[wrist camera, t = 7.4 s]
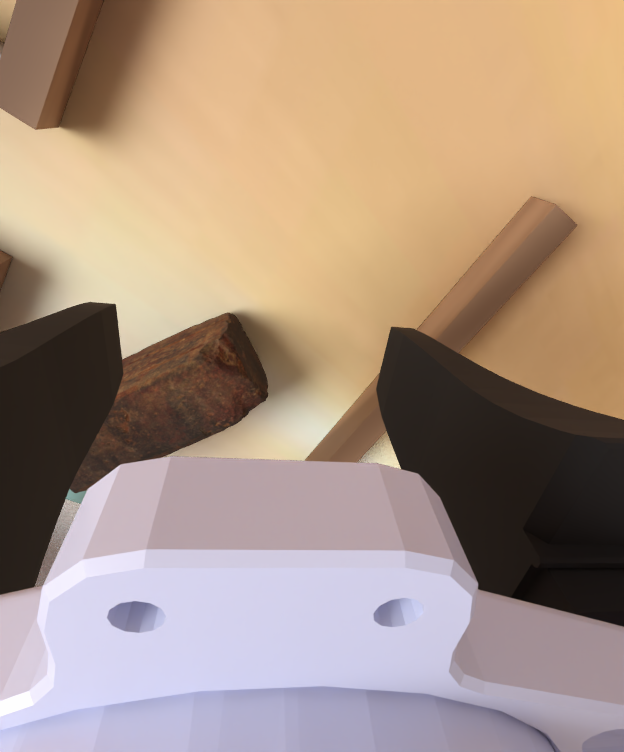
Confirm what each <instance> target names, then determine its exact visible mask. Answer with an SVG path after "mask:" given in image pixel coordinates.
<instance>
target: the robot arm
mask: <svg viewBox="0 0 624 752" xmlns="http://www.w3.org/2000/svg"><path fill="white" fill-rule="evenodd" d="M123 374H124V373H123V364H122V356H121V347H120V338H119V329H118V320H117V311H116V304H107V303H94V302H88V303H83V304H79V305H76V306H73V307H70V308H67V309H64V310H62V311H59V312H56V313H54V314H51V315H48V316H46V317H43V318H40V319H38V320H35V321H32V322H30V323H27V324H24V325H21V326H18V327H15V328H12V329H10V330H7V331H4V332H1V333H0V752H624V420H622V419H618V418H615V417H611V416H607V415H603V414H600V413H596V412H593V411H589V410H586V409H583V408H579V407H576V406H573V405H570V404H568V403H565V402H562V401H559V400H556V399H553V398H550V397H547V396H545V395H542V394H540V393H537V392H535V391H532V390H530V389H527V388H525V387H523V386H521V385H518V384H516V383H514V382H511V381H509V380H507V379H505V378H503V377H501V376H499V375H497V374H495V373H493V372H491V371H489V370H487V369H485V368H483V367H482V366H480V365H478V364H476V363H474V362H472V361H471V360H469V359H467V358H465V357H464V356H462V355H460V354H459V353H457V352H455V351H454V350H452V349H450V348H449V347H447V346H445V345H443V344H442V343H440V342H438V341H437V340H435V339H433V338H432V337H430V336H428V335H426V334H424V333H422V332H420V331H418V330H415V329H412V328H400V327H391V330H390V334H389V338H388V342H387V346H386V350H385V354H384V358H383V362H382V366H381V371H380V375H379V379H378V383H377V387H376V392H377V397H378V402H379V407H380V412H381V416H382V419H383V422H384V425H385V428H386V430H387V433H388V436H389V438H390V441H391V444H392V446H393V449H394V451H395V454H396V456H397V459H398V462H399V464H400V467H401V469H398V468H394V467H390V466H386V465H382V464H378V463H352V462H323V461H294V460H265V459H236V458H207V457H178V456H170V457H163V458H157V459H151V460H145V461H139V462H133V463H126V464H121V465H119V466H118V467H117V468H115V469H114V470H113V471H111V472H110V473H109V474H107V475H106V476H105V477H103V478H102V479H101V480H99V481H98V482H97V483H95V484H94V485H93V486H91V487H90V488H89V489H88V490H87V492H86V494H85V496H84V498H83V501H82V503H81V505H80V507H79V509H78V511H77V513H76V516H75V518H74V520H73V522H72V524H71V526H70V528H69V531H68V533H67V535H66V537H65V539H64V541H63V544H62V546H61V548H60V550H59V552H58V554H57V556H56V559H55V561H54V563H53V565H52V567H51V569H50V572H49V574H48V576H47V578H46V580H45V582H44V584H43V585H42V586H37V587H34V586H35V583H36V580H37V577H38V574H39V571H40V568H41V565H42V562H43V559H44V556H45V553H46V550H47V548H48V545H49V542H50V539H51V536H52V534H53V531H54V528H55V525H56V522H57V520H58V517H59V515H60V512H61V509H62V507H63V504H64V502H65V499H66V497H67V494H68V491H69V489H70V486H71V484H72V482H73V480H74V478H75V476H76V474H77V472H78V470H79V468H80V466H81V464H82V462H83V460H84V458H85V457H86V455H87V453H88V451H89V449H90V447H91V445H92V444H93V442H94V440H95V438H96V436H97V434H98V433H99V431H100V429H101V427H102V425H103V423H104V421H105V419H106V417H107V416H108V414H109V412H110V410H111V408H112V406H113V404H114V401H115V398H116V396H117V393H118V390H119V387H120V384H121V380H122V377H123Z"/></svg>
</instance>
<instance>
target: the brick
mask: <svg viewBox="0 0 624 752" xmlns="http://www.w3.org/2000/svg"><path fill="white" fill-rule="evenodd" d="M122 364H123V373H124V374H123V377H122V380H121V384H120V387H119V390H118V393H117V396H116V398H115V401H114V404H113V406H112V408H111V410H110V412H109V414H108V416H107V417H106V419H105V421H104V423H103V425H102V427H101V429H100V431H99V433H98V434H97V436H96V438H95V440H94V442H93V444H92V445H91V447H90V449H89V451H88V453H87V455H86V457H85V458H84V460H83V462H82V464H81V466H80V468H79V470H78V472H77V474H76V476H75V478H74V480H73V482H72V484H71V486H70V490H71V491H72V492H74V493H79V492H82V491H86V490H88V489H89V488H90V487H91V486H93V485H94V484H95V483H97V482H98V481H99V480H101V479H102V478H103V477H105V476H106V475H107V474H109V473H110V472H111V471H113V470H114V469H115V468H117V467H118V466H119V465H121V464H126V463H133V462H139V461H145V460H151V459H157V458H161V457H164V456H166V455H168V454H171V453H173V452H175V451H177V450H179V449H182V448H184V447H186V446H189V445H191V444H194V443H196V442H198V441H200V440H202V439H205V438H207V437H209V436H211V435H213V434H216V433H218V432H221V431H223V430H225V429H227V428H228V427H230V426H233V425H235V424H236V423H238V422H239V421H241V420H242V418H244V417H245V416H246V415H248V413H249V411H251V410H252V409H253V408H255V407H256V406H258V405H259V404H260V403H262V402H264V401H266V398H267V397H268V392H267V388H268V383H267V378H266V374H265V372H264V370H263V367H262V365H261V362H260V360H259V358H258V356H257V354H256V352H255V350H254V348H253V347H252V345H251V343H250V341H249V339H248V337H247V336H246V334H245V332H244V331H243V329H242V326H241V324H240V322H239V320H238V319H237V317H236V316H235V315H233V314H231V313H225V314H223V315H220V316H218V317H216V318H212V319H210V320H207V321H205V322H203V323H201V324H199V325H194V326H192V327H190V328H188V329H186V330H184V331H181V332H179V333H177V334H175V335H173V336H171V337H169V338H166V339H164V340H162V341H160V342H158V343H156V344H153V345H151V346H149V347H147V348H145V349H143V350H141V351H140V352H138V353H136V354H133V355H131V356H129V357H127V358H125V359H123V360H122Z"/></svg>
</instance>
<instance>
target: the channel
mask: <svg viewBox="0 0 624 752" xmlns="http://www.w3.org/2000/svg"><path fill="white" fill-rule="evenodd" d="M103 1H104V0H17V1H16V4H15V8H14V11H13V15H12V18H11V22H10V26H9V29H8V33H7V36H6V40H5V43H2V42H1V41H0V108H1V109H3V110H4V111H6V112H8V113H9V114H11V115H13V116H14V117H16V118H17V119H19V120H21V121H22V122H24V123H26V124H27V125H29V126H30V127H32V128H34V129H35V130H37V129H47V128H57V127H59V125H60V122H61V119H62V116H63V113H64V111H65V108H66V105H67V102H68V99H69V96H70V94H71V91H72V88H73V85H74V82H75V80H76V77H77V74H78V71H79V68H80V65H81V63H82V60H83V57H84V54H85V51H86V49H87V46H88V43H89V40H90V37H91V34H92V32H93V29H94V26H95V23H96V20H97V18H98V15H99V12H100V9H101V6H102V3H103ZM576 226H577V224H576V223H575V222H574V221H573V220H572V219H571V218H570V217H569V216H567V215H566V214H565V213H564V212H563V211H562V210H561V209H560V208H559V207H558V206H557V205H555V204H552V203H549V202H546V201H543V200H540V199H537V198H535V197H532V196H531V197H530V199H529V200H528V201H527V202H526V203H525V204H524V206H523V207H522V208H521V209H520V210H519V211H518V213H517V214H516V215H515V216H514V217H513V218H512V220H511V221H510V222H509V223H508V224H507V225H506V227H505V228H504V229H503V230H502V231H501V232H500V234H499V235H498V236H497V237H496V238H495V239H494V241H493V242H492V243H491V244H490V245H489V246H488V248H487V249H486V250H485V251H484V252H483V253H482V255H481V256H480V257H479V258H478V259H477V260H476V262H475V263H474V264H473V265H472V266H471V267H470V269H469V270H468V271H467V272H466V273H465V274H464V276H463V277H462V278H461V279H460V280H459V281H458V283H457V284H456V285H455V286H454V287H453V288H452V290H451V291H450V292H449V293H448V294H447V295H446V297H445V298H444V299H443V300H442V301H441V302H440V304H439V305H438V306H437V307H436V308H435V309H434V311H433V312H432V313H431V314H430V315H429V316H428V318H427V319H426V320H425V321H424V322H423V323H422V325H421V326H420V327H419V328H418V329H417V330H418V331H420V332H422V333H424V334H426V335H428V336H430V337H432V338H433V339H435V340H437V341H438V342H440V343H442V344H443V345H445V346H447V347H449V348H450V349H452V350H454V351H455V352H457V353H459V352H460V351H461V350H462V349H463V348H464V347H465V346H466V344H467V343H468V342H469V341H470V340H471V339H472V338H473V337H474V336H475V335H476V334H477V333H478V332H479V331H480V329H481V328H482V327H483V326H484V325H485V324H486V323H487V322H488V321H489V320H490V319H491V318H492V317H493V316H494V314H495V313H496V312H497V311H498V310H499V309H500V308H501V307H502V306H503V305H504V304H505V303H506V302H507V300H508V299H509V298H510V297H511V296H512V295H513V294H514V293H515V292H516V291H517V290H518V289H519V288H520V287H521V285H522V284H523V283H524V282H525V281H526V280H527V279H528V278H529V277H530V276H531V275H532V274H533V273H534V272H535V270H536V269H537V268H538V267H539V266H540V265H541V264H542V263H543V262H544V261H545V260H546V259H547V258H548V256H549V255H550V254H551V253H552V252H553V251H554V250H555V249H556V248H557V247H558V246H559V245H560V244H561V243H562V241H563V240H564V239H565V238H566V237H567V236H568V235H569V234H570V233H571V232H572V231H573V230H574V229H575V228H576ZM11 260H12V256H10V255H8V254H6V253H4V252H2V251H0V291H1V288H2V285H3V282H4V280H5V277H6V274H7V271H8V268H9V265H10V263H11ZM379 375H380V373H379ZM379 375H378V376H377V377H376V378H375V379H374V380H373V382H372V383H371V384H370V385H369V386H368V387H367V389H366V390H365V391H364V392H363V393H362V394H361V396H360V397H359V398H358V399H357V400H356V401H355V403H354V404H353V405H352V406H351V407H350V408H349V410H348V411H347V412H346V413H345V414H344V415H343V417H342V418H341V419H340V420H339V421H338V422H337V424H336V425H335V426H334V427H333V428H332V429H331V431H330V432H329V433H328V434H327V435H326V436H325V438H324V439H323V440H322V441H321V442H320V443H319V445H318V446H317V447H316V448H315V449H314V450H313V452H312V453H311V454H310V455H309V456H308V457H307V459H306V460H305V461H323V462H352V463H357V461H358V460H359V459H360V458H361V457H362V456H363V455H364V454H365V453H366V452H367V451H368V450H369V449H370V448H371V446H372V445H373V444H374V443H375V442H376V441H377V440H378V439H379V438H380V437H381V436H382V435H383V434H384V432H385V431H386V428H385V425H384V422H383V419H382V416H381V412H380V407H379V402H378V397H377V392H376V387H377V383H378V379H379ZM86 492H87V490H86V491H82V492H79V493H74V492H72V491H71V490H70V489H69V491H68V494H67V497H66V499H68V500H71V501H74V502H77V503H80V504H81V503H82V501H83V498H84V496H85V494H86Z"/></svg>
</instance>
